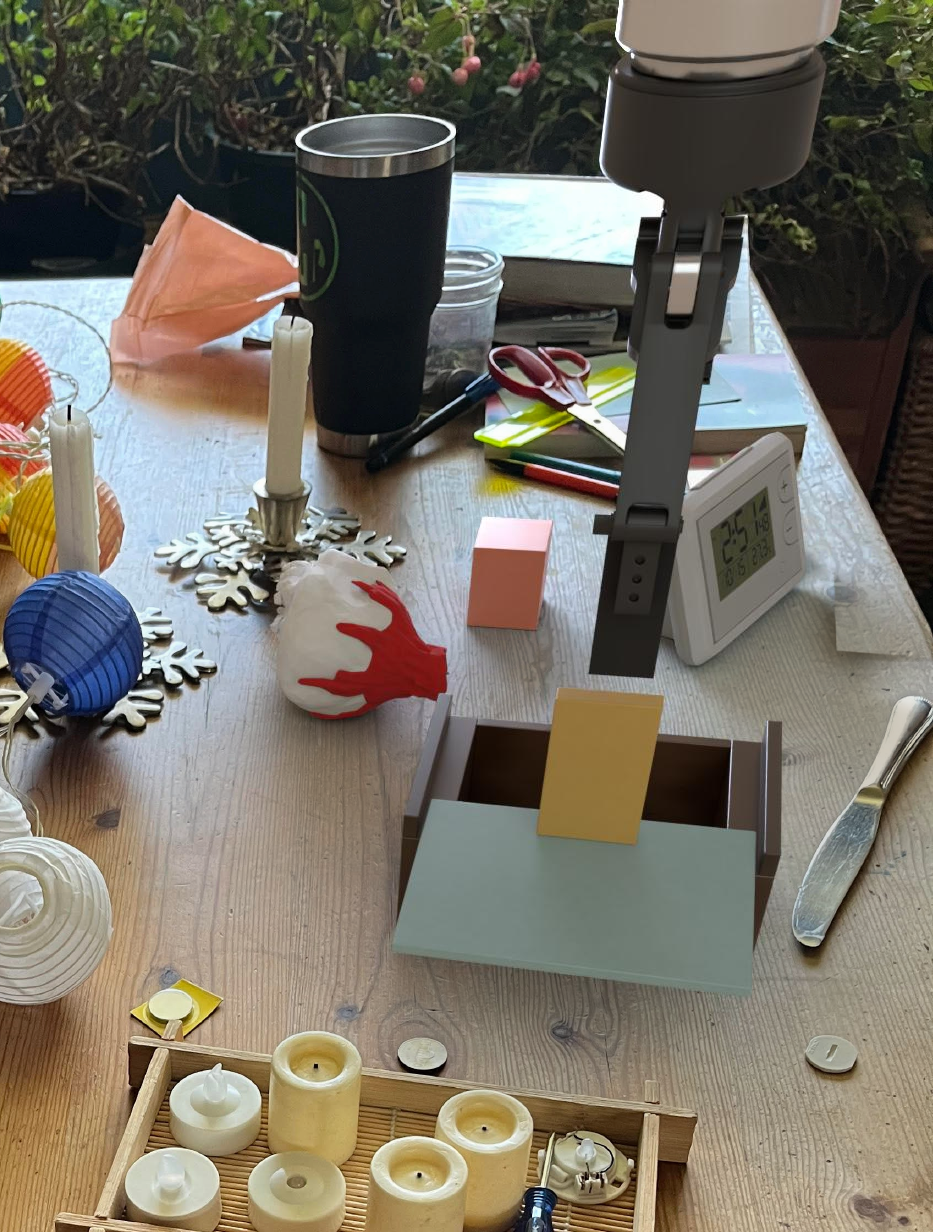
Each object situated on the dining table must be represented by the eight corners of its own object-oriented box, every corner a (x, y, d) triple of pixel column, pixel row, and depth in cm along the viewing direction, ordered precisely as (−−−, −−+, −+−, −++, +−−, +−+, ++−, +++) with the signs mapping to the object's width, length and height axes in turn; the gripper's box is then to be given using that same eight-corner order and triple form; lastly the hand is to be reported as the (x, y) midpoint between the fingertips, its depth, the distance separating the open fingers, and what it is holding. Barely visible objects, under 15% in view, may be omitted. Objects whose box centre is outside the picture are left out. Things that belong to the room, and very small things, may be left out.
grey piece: (754, 840, 80) (793, 691, 74) (749, 998, 72) (793, 845, 66) (430, 807, 84) (441, 664, 78) (390, 952, 76) (400, 805, 70)
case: (747, 857, 92) (782, 720, 86) (742, 993, 84) (781, 854, 77) (428, 823, 97) (439, 692, 91) (394, 949, 89) (403, 815, 82)
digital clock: (691, 680, 106) (722, 530, 99) (589, 634, 112) (611, 488, 104) (840, 599, 112) (881, 452, 105) (736, 559, 118) (767, 416, 110)
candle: (281, 633, 114) (472, 697, 109) (210, 707, 107) (410, 778, 103) (297, 517, 107) (501, 580, 103) (222, 588, 101) (436, 658, 96)
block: (543, 597, 116) (553, 519, 112) (536, 630, 113) (546, 551, 108) (475, 593, 117) (482, 516, 113) (466, 625, 114) (473, 547, 110)
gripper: (634, -21, 66) (573, 476, 81) (581, 153, 49) (516, 735, 64) (826, -30, 64) (726, 481, 79) (836, 148, 47) (708, 751, 62)
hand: (632, 597), depth 71 cm, fingers open, 13 cm apart
